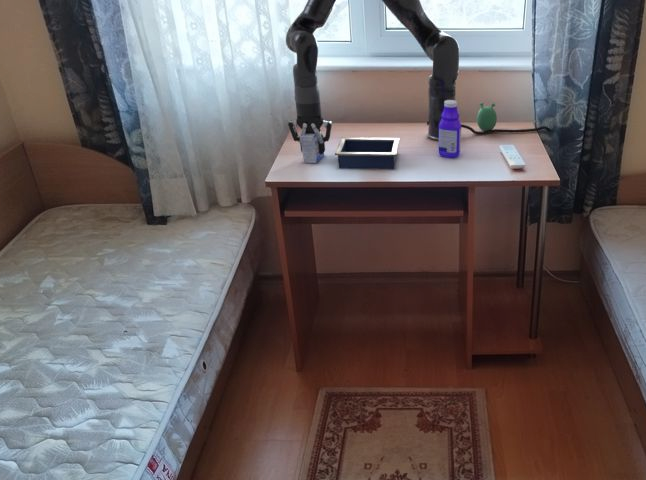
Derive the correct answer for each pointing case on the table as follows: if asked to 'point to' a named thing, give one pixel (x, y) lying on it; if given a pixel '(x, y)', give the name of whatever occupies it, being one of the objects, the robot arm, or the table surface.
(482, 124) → the alien toy
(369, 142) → the rectangular frame
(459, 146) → the bottle
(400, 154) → the table surface
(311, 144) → the medicine box
